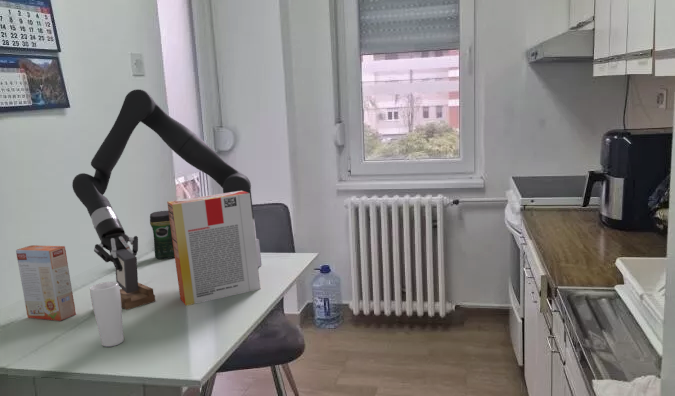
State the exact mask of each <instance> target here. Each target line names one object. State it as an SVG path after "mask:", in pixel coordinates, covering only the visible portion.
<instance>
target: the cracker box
mask: <svg viewBox="0 0 675 396" xmlns="http://www.w3.org/2000/svg"><path fill="white" fill-rule="evenodd" d="M15 253H16V260H17V264H18V270H19V275H20V281H21V282H20V283H21V287H22V292H23V299H24V305H25V309H26V310H25V311H26V315H27V318H29V319H37V320H47V321H57V322H61V321H64V320H66V319H69V318H70V317H73V316H75V315H77V313H76V304H75V299H74V293H73V287H72V283H71V282H72V280H71V275H70V269H69V262H68V257H67V251H66V246H65V245H37V244H36V245H28V246H25V247H21V248H19V249H16V250H15Z"/></svg>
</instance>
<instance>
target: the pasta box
mask: <svg viewBox="0 0 675 396" xmlns="http://www.w3.org/2000/svg"><path fill="white" fill-rule="evenodd" d="M166 203H167V211H169V218H170V226H171V233H172V241H173V248H174V255H175V257H174V263H175V270H176V274H177V276H176V277H177V283H178V290H179V298H180V301H182V303H183V304H184V305H185V306H190V305H196V304H199V303H204V302H207V301H208V302H209V301H213V300H217V299H222V298H227V297H231V296H235V295H239V294H244V293H248V292H253V291H257V290H261V280H260V273H259V267H258V262H257V253H256V244H255V235H254V226H253V217H252V208H251V199H250V193H248V192H245V191H236V192H229V193H223V192H222V193H217V194H210V195H203V196H196V197H190V198H188V197H187V198H184V199H183V198H182V199H175V200H169V201H167V202H166Z"/></svg>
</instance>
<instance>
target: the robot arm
mask: <svg viewBox="0 0 675 396" xmlns="http://www.w3.org/2000/svg"><path fill="white" fill-rule="evenodd" d="M140 123H142V124H144V125H145V126H146V127H148V128H149V129H150V130H152V131H153V132H155V134H157V136H158V137H160V138H161V140H162V141H163V142H164V143H165V144H166V145H167V146H168V147H169V149H171V150H172V151H173V152H174V153H175V154H176V155H178V156H179V158H181V159H182V160H184V161H185V162H186V163H187V164H189V165H191V167H194V168H195V169H197V170H199V171H200V172H202V173H203V174H206V175H207V176H208V177H210V178H211V179H212V180H214V181H215V182H216V184H218V185H219V186H220V187H221V188H222V193H229V192H236V191H245V192H248V193H250V199H251V208H252V217H253V226H254V235H255V244H256V253H257V262H258V268H260V267H261V266H262V265H263V264H262V256H261V255H262V254H261V246H260V245H261V244H260V239H259V238H257V232H256V230H257V229H256V224H255V213H254V209H253V208H254V207H253V200H252V198H253V197H252V192H251V191H252V185H251V181H250V179H249V178H248V177H247V176H246V175H245V174H244V173H242V172H240V171H239V170H238V169H236V168H234V167H233V166H231V165H230V163H229V164H228V162H226V161H225V160H224V159H223V158H222V157H221V156H220V155H219V154H218V153H217V152H216V151H215V150H214V149H212V147H210V146H209V144H207V143H206V142H205V141H204V140H203V138H201V137H199V136H198V134H196V133H195V132H194V131H192V130H191V129H190V128H188V127H187V126H186V125H184V124H182V123H180V122H179V121H177V120H176V119H175V118H173V117H171V116H170V115H169V114H168V113H166V111H164V109H163V108H162V107H161V106H160V105H158V103H157V102H156V101H155V100H154V99H153V97H152V96H151V95H150V94H149V92H147V91H145V90H144V89H132V90H131V91H129V92H127V94H126V96H125V97H124V100H123V103H122V105H121V108H120V110H119V112H118V115H117V117H116V119H115V121H114V123H113V125H112V127H111V129H110V130H109V132H108V134H107V135H106V136H105V138H104V139H103V142H102V143H101V145H100V146H99V148H98V150H97V151H96V152H95V154H94V156H93V157H92V159H91V162H90V166H91V167H92V168H93V169H94V170H95V172H94V175H90V174H88V173H84V172H83V173H79V174H77V175H75V176H74V178H73V179H72V184H71V185H72V186H71V188H72V190H73V192H74V194H75V196H76V197H77V199H78V200H79V201H80V202H81V203H82V205H83V206H84V207H85V208H86V210H87V212H88V214H89V216H90V219H91V222H92V225H93V229H95V232H96V234H97V237H98V239H99V241H100V243H99V244H97V243H96V244H95V245H94V249H93V251H94V252H95V254H97V256H99V257H100V258H101V260H103V261H104V262H105V263H109V262H110V263H112V264H113V265H114V268H116V269H115V271H116V270H119V272H120V271H122V265H121V263H120V261H119V258H117V254H116V250H120V249H127V250H128V251H130V252H131V253H132V254H133V255H135V256H136V257H137V255H138V252H139V237H138V236H137V235H134V236H133V237H131V236H130V237H129V235H127V234H126V232H125V229H124V228H123V225H122V223H121V221H120V219H119V217H118V215H117V213H116V212H115V210H114V209H113V206H112V205H111V203H110V201H109V199H108V198H107V197H106V196H105V193H106V191H107V190H108V186H109V182H110V179H111V175H112V171H113V170H114V168H115V166H116V165H117V163H118V161H119V160H120V158H121V157H122V155H123V153H124V152H125V148H126V146H127V144H128V142H129V140H130V138H131V136H132V134H133V133H134V130H135V129H136V127H137V126H138V125H140ZM128 243H130V245H131V246H132V249H131V248H130V245H129V244H128ZM107 251H108V252H109V253H108V252H107Z"/></svg>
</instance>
